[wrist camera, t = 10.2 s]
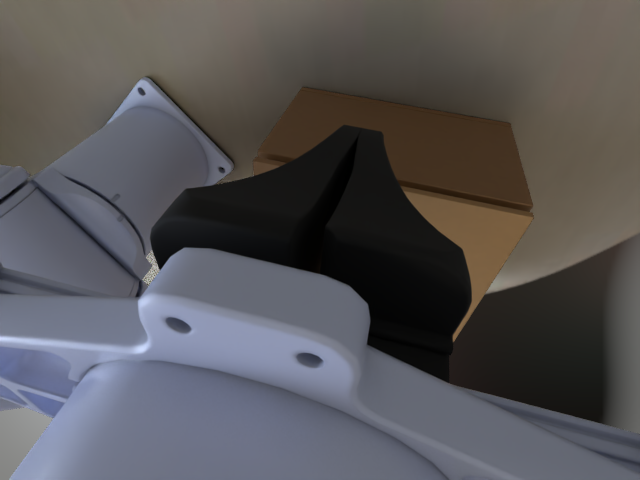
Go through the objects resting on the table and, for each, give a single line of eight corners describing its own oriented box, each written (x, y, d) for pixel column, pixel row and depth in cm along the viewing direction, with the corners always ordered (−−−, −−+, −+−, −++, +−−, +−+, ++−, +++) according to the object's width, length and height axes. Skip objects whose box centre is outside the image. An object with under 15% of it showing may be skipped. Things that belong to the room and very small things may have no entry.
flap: (533, 212, 15) (534, 217, 15) (437, 362, 24) (437, 367, 24) (389, 183, 16) (389, 187, 15) (350, 339, 25) (349, 344, 24)
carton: (510, 123, 20) (537, 217, 15) (439, 273, 29) (438, 367, 24) (302, 86, 22) (250, 159, 16) (296, 240, 31) (262, 322, 25)
